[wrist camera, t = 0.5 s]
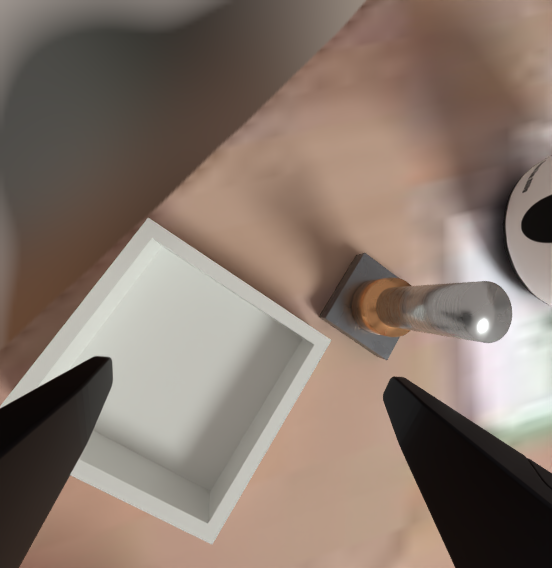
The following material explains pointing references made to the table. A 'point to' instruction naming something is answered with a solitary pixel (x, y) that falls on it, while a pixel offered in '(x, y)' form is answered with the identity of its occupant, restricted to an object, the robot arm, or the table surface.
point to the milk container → (531, 230)
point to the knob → (433, 309)
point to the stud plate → (341, 311)
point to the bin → (181, 379)
